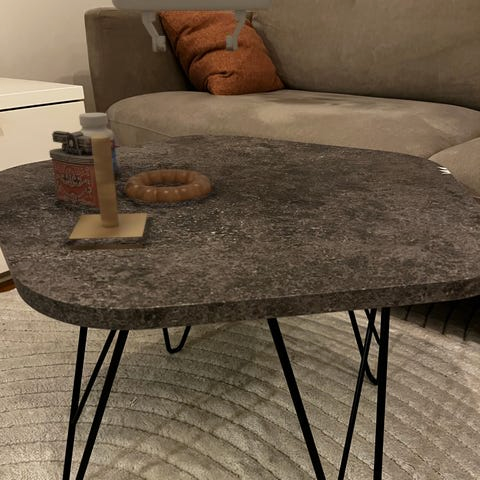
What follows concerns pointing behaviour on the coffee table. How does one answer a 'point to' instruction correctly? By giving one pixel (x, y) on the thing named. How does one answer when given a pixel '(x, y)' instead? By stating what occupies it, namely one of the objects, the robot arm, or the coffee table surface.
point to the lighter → (74, 168)
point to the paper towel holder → (107, 206)
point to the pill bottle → (98, 130)
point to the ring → (141, 190)
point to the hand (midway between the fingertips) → (195, 51)
